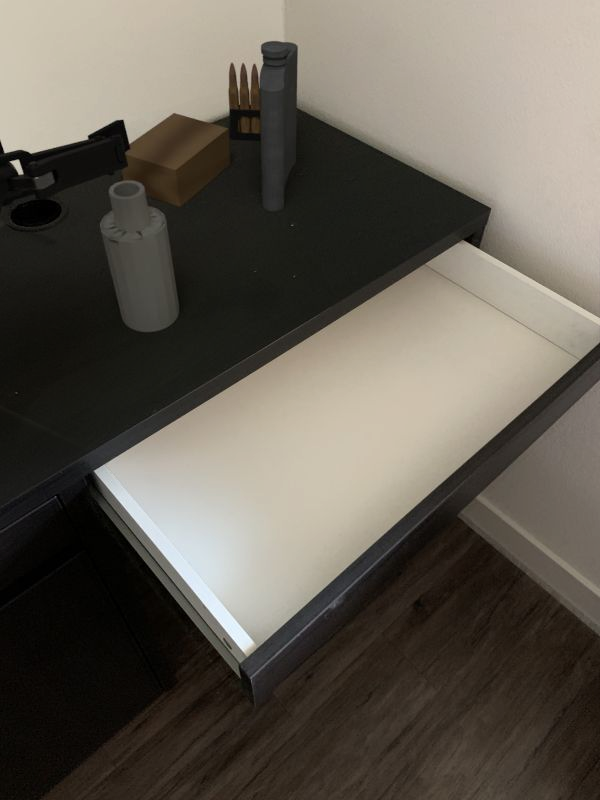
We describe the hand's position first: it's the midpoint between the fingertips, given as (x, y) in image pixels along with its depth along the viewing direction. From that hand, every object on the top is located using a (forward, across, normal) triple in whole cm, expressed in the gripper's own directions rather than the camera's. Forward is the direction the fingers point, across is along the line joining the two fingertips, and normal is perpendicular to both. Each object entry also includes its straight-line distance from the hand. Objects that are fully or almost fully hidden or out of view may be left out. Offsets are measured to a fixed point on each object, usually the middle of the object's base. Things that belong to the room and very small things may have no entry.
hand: (60, 139), depth 66 cm
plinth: (+36, -2, -13) cm, 38 cm away
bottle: (+6, +2, -22) cm, 23 cm away
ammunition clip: (+50, +8, -12) cm, 52 cm away
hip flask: (+38, +13, -16) cm, 43 cm away
